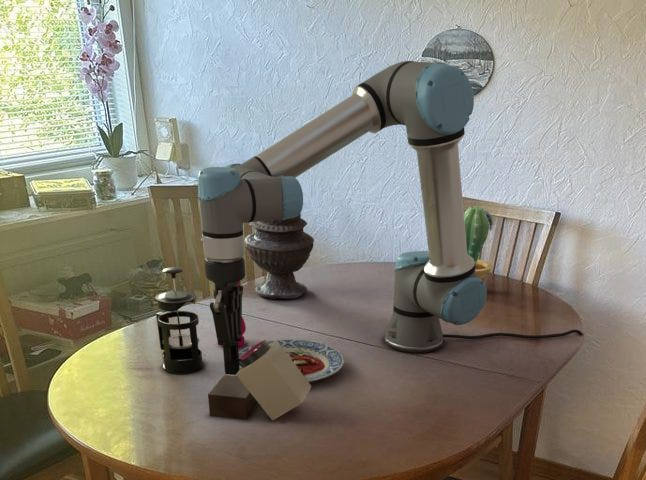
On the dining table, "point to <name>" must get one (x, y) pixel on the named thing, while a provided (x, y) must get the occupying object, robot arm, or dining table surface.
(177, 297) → the french press
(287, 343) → the ceramic plate
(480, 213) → the potted cactus
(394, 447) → the dining table surface
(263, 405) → the beige box
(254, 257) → the decorative urn
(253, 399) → the walnut block
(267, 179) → the robot arm
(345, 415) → the dining table surface
